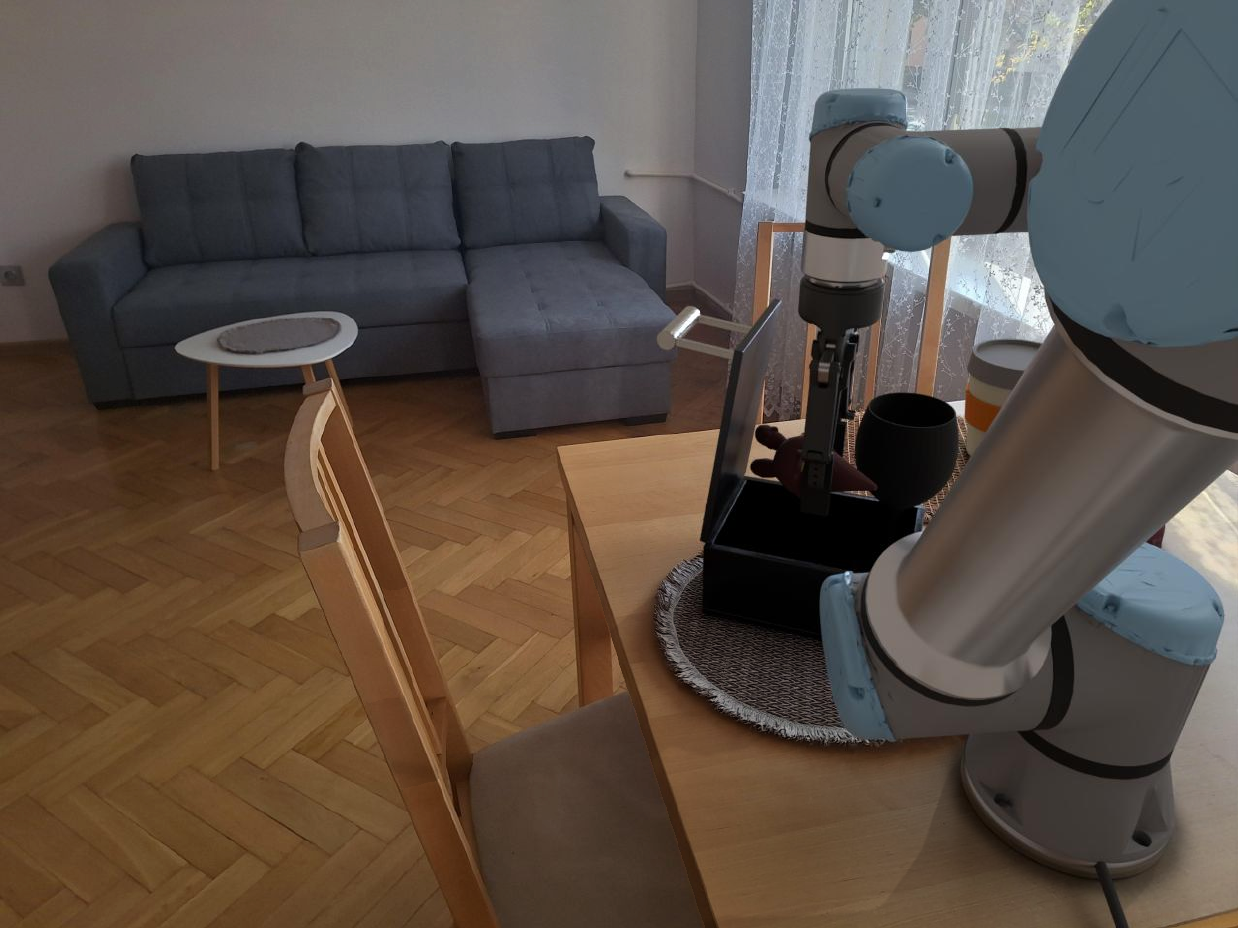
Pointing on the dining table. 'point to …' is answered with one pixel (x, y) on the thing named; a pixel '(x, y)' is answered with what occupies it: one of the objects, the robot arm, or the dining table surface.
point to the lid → (730, 398)
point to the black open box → (789, 553)
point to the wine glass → (905, 453)
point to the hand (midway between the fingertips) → (821, 493)
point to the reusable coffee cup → (993, 381)
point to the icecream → (802, 464)
